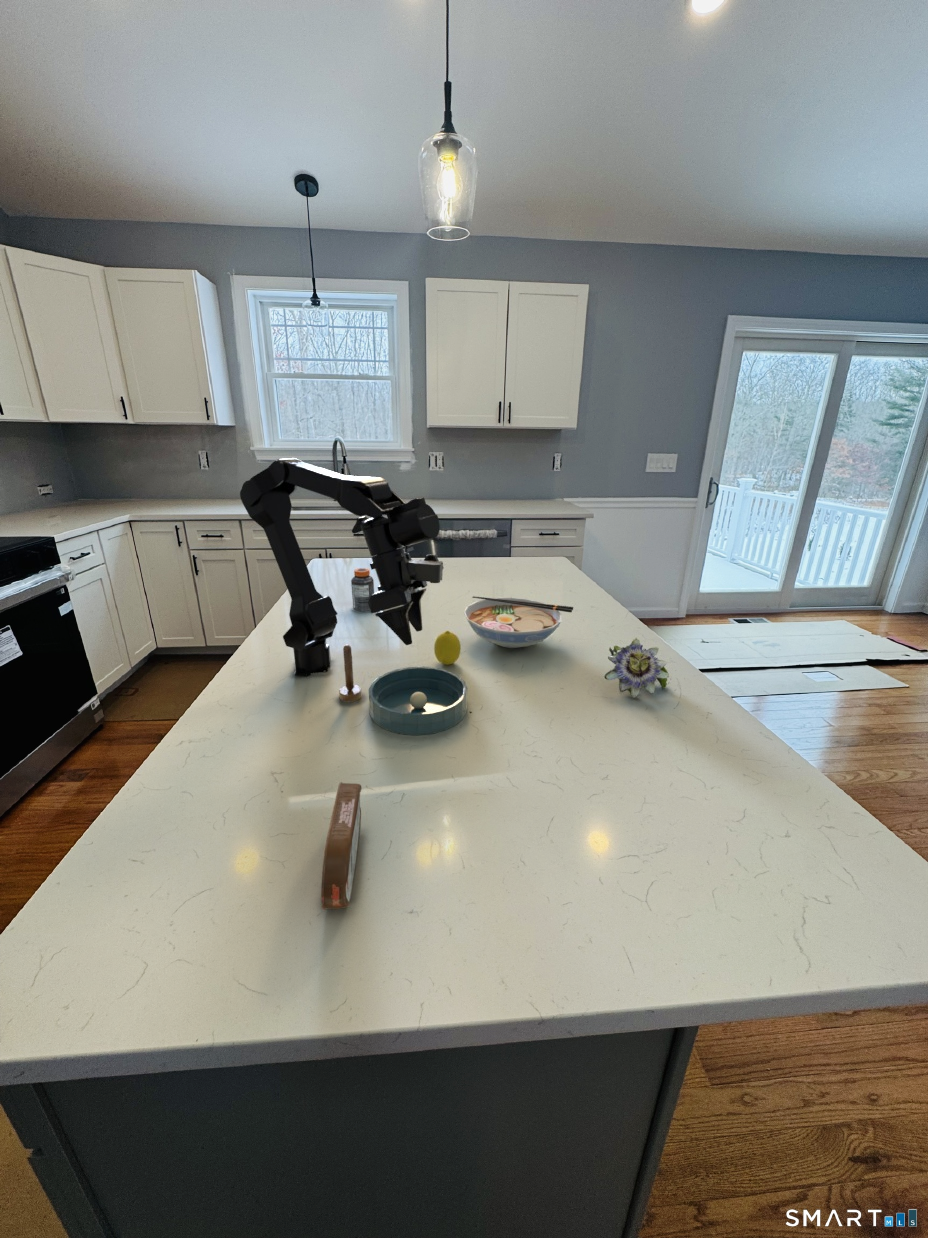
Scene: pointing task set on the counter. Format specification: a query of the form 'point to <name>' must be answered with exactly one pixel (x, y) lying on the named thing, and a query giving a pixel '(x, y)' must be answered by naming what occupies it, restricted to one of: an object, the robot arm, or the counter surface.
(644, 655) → the passion flower
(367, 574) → the pill bottle
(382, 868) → the counter surface
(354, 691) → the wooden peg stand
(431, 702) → the bowl
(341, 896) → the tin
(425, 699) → the dough ball
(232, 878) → the counter surface
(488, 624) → the ramen bowl
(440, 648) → the lemon
